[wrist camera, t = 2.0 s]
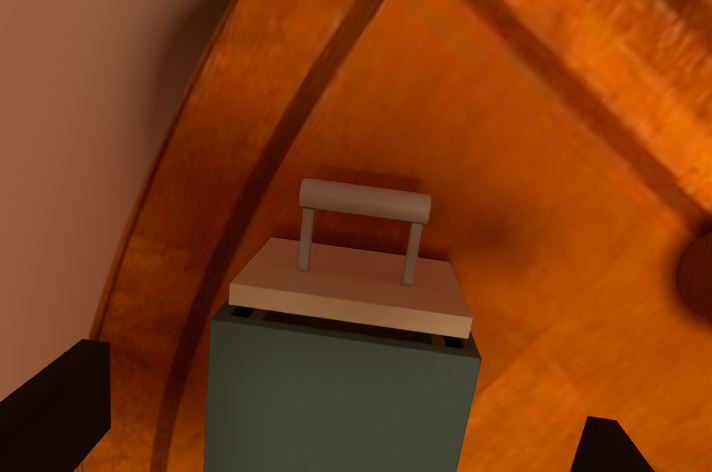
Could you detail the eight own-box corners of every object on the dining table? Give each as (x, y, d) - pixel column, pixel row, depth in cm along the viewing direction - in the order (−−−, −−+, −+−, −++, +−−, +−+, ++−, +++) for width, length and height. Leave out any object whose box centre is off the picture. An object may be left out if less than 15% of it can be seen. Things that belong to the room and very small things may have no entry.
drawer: (277, 160, 31) (235, 179, 22) (464, 185, 30) (495, 215, 22) (255, 426, 36) (216, 523, 28) (413, 450, 36) (422, 555, 27)
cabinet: (263, 254, 33) (210, 319, 23) (452, 281, 33) (481, 359, 23) (249, 447, 38) (198, 571, 28) (415, 472, 38) (425, 608, 27)
